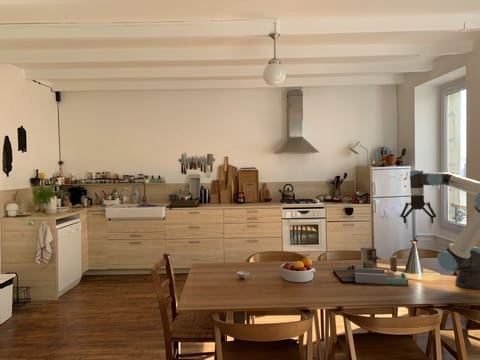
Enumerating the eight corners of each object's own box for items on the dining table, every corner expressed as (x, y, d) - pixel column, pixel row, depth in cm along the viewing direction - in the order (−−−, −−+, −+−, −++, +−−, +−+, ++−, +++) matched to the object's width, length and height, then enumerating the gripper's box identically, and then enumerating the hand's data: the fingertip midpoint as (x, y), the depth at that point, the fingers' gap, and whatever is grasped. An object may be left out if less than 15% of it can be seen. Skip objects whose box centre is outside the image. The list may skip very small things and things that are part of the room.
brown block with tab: (395, 273, 239) (395, 255, 239) (397, 277, 231) (396, 258, 231) (390, 273, 240) (389, 255, 240) (391, 276, 232) (390, 258, 232)
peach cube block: (391, 277, 225) (393, 271, 224) (392, 279, 221) (394, 273, 220) (385, 275, 226) (387, 269, 225) (385, 276, 222) (388, 270, 222)
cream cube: (393, 279, 224) (400, 279, 223) (394, 280, 221) (401, 281, 219) (393, 272, 224) (400, 273, 223) (394, 274, 221) (401, 274, 219)
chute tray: (405, 278, 227) (405, 273, 227) (408, 285, 214) (408, 279, 214) (384, 277, 231) (384, 272, 231) (386, 284, 217) (386, 278, 217)
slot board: (384, 277, 231) (384, 269, 231) (386, 284, 217) (386, 275, 217) (355, 276, 236) (354, 267, 236) (355, 282, 223) (355, 273, 223)
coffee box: (374, 270, 248) (374, 247, 247) (377, 273, 241) (376, 249, 241) (361, 270, 249) (360, 247, 248) (363, 273, 242) (362, 249, 242)
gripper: (437, 194, 227) (439, 227, 227) (395, 194, 234) (396, 227, 234) (440, 194, 219) (442, 229, 219) (396, 195, 227) (397, 229, 227)
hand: (418, 228), depth 227 cm, fingers open, 13 cm apart
